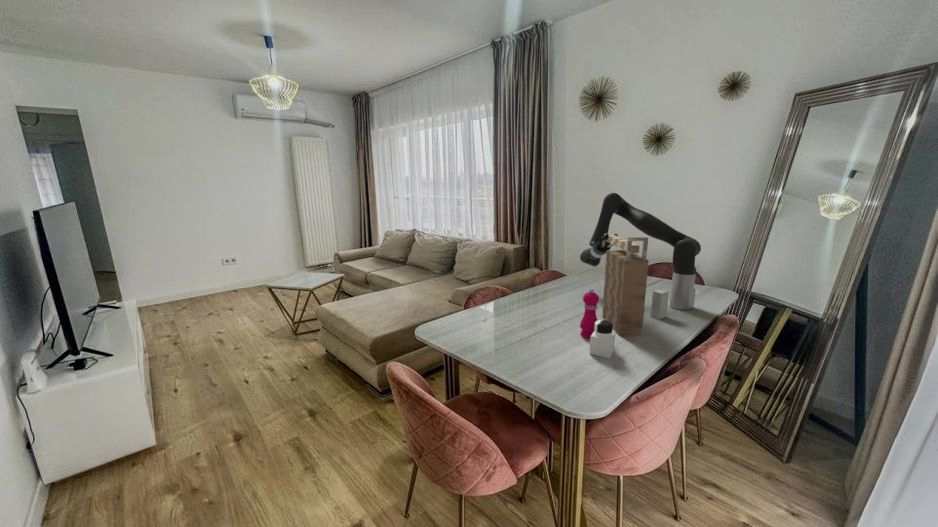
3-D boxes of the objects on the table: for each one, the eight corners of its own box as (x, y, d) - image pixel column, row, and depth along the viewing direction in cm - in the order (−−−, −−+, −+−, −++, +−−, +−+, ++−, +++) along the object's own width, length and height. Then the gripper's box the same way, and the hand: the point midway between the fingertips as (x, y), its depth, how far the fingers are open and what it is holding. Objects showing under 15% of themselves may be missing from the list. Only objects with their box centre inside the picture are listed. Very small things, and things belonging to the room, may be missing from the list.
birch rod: (603, 240, 168) (604, 233, 167) (610, 240, 168) (611, 233, 167) (630, 253, 139) (631, 245, 138) (638, 253, 139) (639, 245, 138)
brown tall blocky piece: (602, 317, 164) (607, 230, 155) (622, 316, 164) (629, 230, 155) (619, 335, 144) (626, 238, 135) (641, 335, 144) (650, 237, 135)
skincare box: (659, 319, 159) (662, 293, 157) (649, 316, 163) (652, 291, 160) (667, 316, 163) (669, 291, 160) (657, 313, 166) (659, 288, 164)
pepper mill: (589, 341, 140) (591, 292, 135) (575, 334, 146) (577, 287, 142) (602, 337, 143) (605, 289, 139) (588, 331, 149) (591, 285, 145)
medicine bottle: (614, 351, 132) (616, 320, 129) (610, 359, 126) (612, 327, 123) (594, 346, 136) (596, 316, 133) (589, 354, 130) (591, 323, 127)
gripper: (584, 241, 180) (595, 228, 163) (613, 240, 179) (626, 227, 163) (586, 255, 178) (597, 243, 161) (615, 255, 177) (629, 243, 161)
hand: (612, 235), depth 162 cm, fingers closed on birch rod, 3 cm apart
